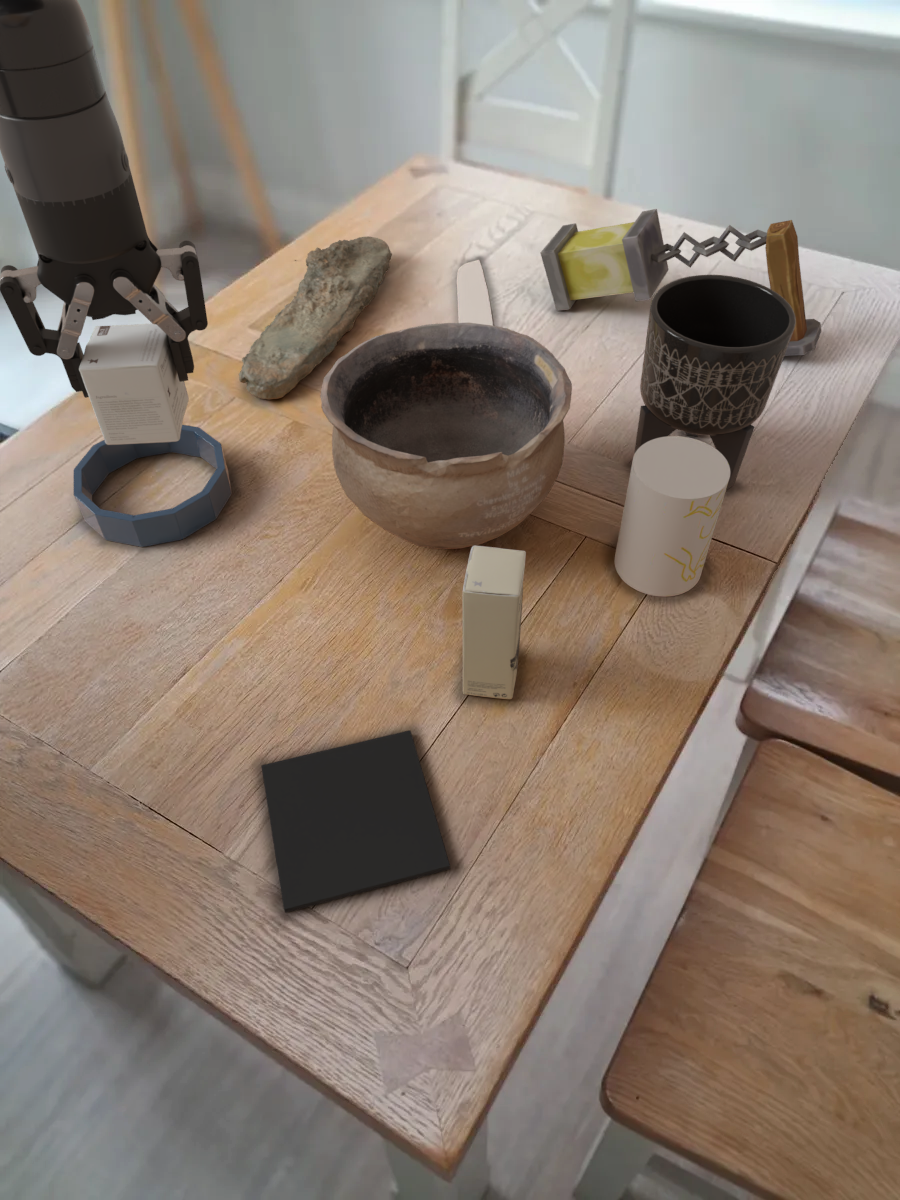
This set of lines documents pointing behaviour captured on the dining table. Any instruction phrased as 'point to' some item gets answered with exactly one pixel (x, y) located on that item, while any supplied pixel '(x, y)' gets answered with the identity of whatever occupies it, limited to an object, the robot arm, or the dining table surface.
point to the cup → (670, 514)
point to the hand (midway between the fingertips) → (136, 383)
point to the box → (492, 621)
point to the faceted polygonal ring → (157, 523)
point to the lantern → (666, 265)
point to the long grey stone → (316, 315)
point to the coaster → (351, 820)
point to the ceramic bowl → (447, 430)
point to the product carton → (134, 384)
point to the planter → (712, 360)
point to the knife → (473, 295)
